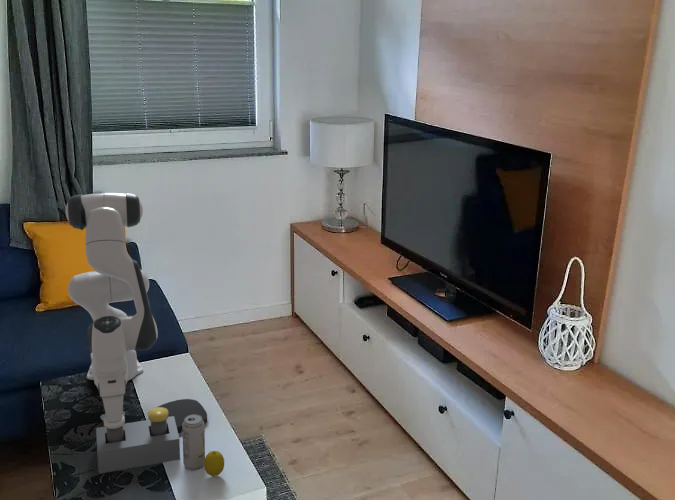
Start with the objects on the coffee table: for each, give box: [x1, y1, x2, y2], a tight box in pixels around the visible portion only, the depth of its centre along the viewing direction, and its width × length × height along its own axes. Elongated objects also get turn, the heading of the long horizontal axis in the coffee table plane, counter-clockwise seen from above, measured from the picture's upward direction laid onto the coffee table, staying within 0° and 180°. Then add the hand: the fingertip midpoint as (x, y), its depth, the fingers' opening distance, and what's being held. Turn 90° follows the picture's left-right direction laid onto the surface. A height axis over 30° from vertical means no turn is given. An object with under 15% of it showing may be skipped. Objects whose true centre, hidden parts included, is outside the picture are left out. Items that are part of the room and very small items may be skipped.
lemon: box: [203, 450, 225, 477], centre depth 182 cm, size 6×6×8 cm
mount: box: [95, 416, 181, 475], centre depth 190 cm, size 12×22×7 cm, turn 110°
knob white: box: [103, 415, 126, 443], centre depth 187 cm, size 6×6×11 cm
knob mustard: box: [147, 406, 168, 436], centre depth 191 cm, size 6×6×11 cm
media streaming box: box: [157, 398, 208, 434], centre depth 209 cm, size 15×15×3 cm
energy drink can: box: [181, 414, 206, 471], centre depth 185 cm, size 6×6×15 cm
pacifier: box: [100, 410, 126, 422], centre depth 206 cm, size 7×6×6 cm
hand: (114, 418), depth 185 cm, fingers closed, pressing on knob white
